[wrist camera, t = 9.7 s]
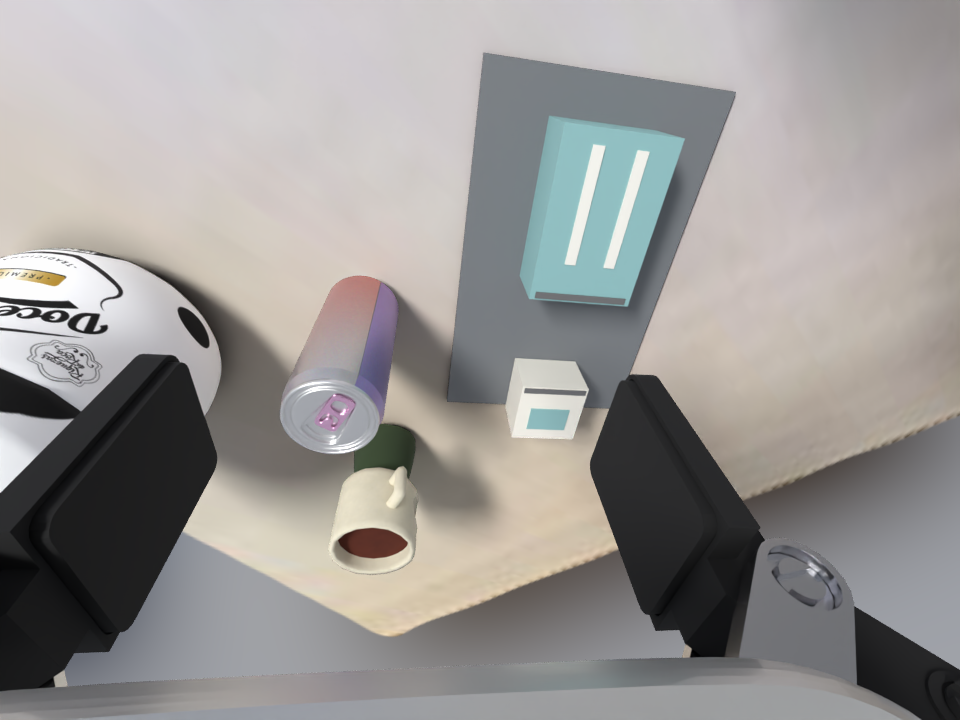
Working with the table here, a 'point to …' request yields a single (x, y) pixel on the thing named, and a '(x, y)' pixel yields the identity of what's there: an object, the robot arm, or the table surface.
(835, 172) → the table surface
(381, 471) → the character mug
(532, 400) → the white box
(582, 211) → the striped teal box
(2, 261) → the milk container
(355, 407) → the beverage can
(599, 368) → the mat
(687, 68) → the table surface
